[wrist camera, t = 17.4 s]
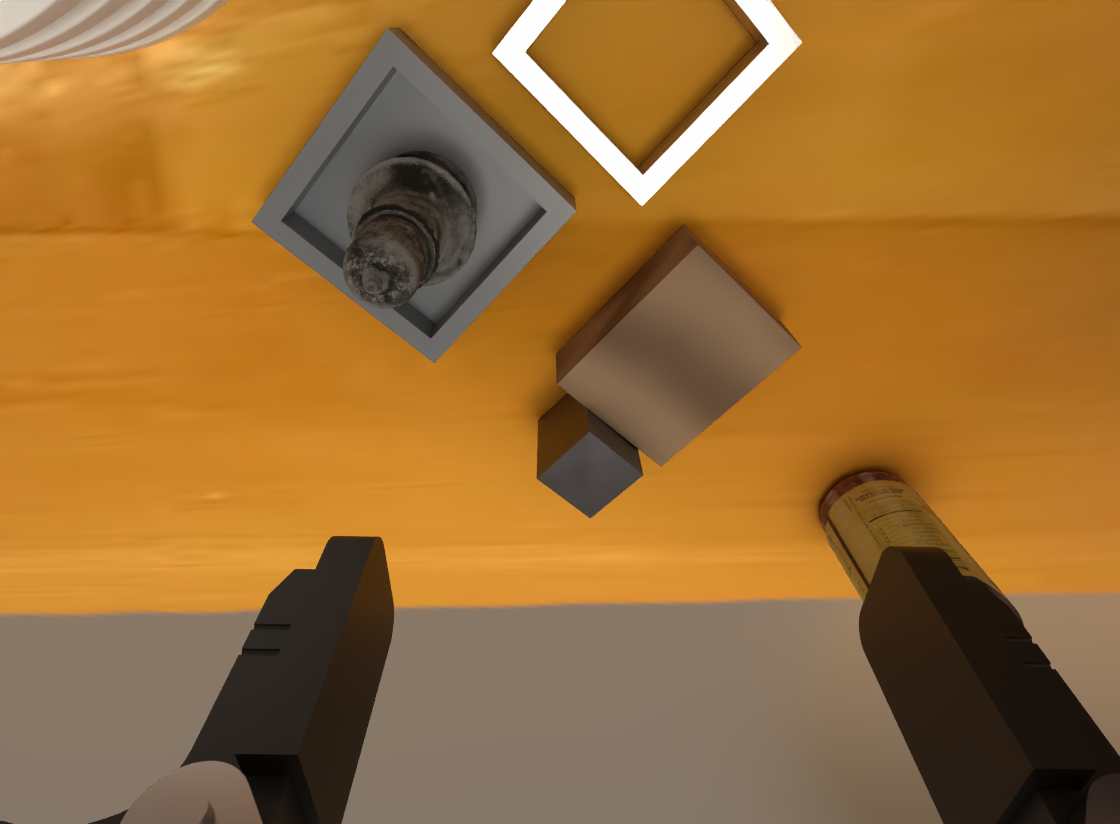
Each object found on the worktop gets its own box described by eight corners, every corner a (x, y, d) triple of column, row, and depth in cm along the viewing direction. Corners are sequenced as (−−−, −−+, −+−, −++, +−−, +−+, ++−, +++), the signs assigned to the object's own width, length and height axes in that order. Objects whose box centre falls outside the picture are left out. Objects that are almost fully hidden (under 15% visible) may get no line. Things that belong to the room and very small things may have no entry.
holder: (646, -142, 27) (653, -153, 25) (787, 41, 30) (802, 42, 29) (495, 51, 30) (491, 53, 29) (637, 196, 34) (642, 206, 32)
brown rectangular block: (683, 223, 35) (697, 244, 31) (778, 317, 38) (801, 347, 34) (556, 352, 39) (556, 384, 35) (651, 429, 41) (661, 466, 38)
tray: (399, 28, 30) (387, 28, 28) (574, 199, 34) (576, 210, 32) (270, 209, 34) (251, 222, 32) (440, 343, 38) (434, 362, 36)
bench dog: (583, 377, 39) (589, 431, 34) (631, 417, 40) (643, 475, 35) (538, 420, 40) (536, 478, 35) (585, 457, 42) (590, 518, 37)
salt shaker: (403, 280, 35) (344, 388, 25) (341, 175, 32) (246, 246, 22) (502, 236, 34) (484, 328, 24) (447, 123, 31) (400, 171, 21)
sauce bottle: (888, 542, 46) (1093, 852, 29) (801, 534, 45) (957, 844, 28) (927, 465, 43) (1184, 762, 25) (834, 455, 42) (1032, 751, 25)
